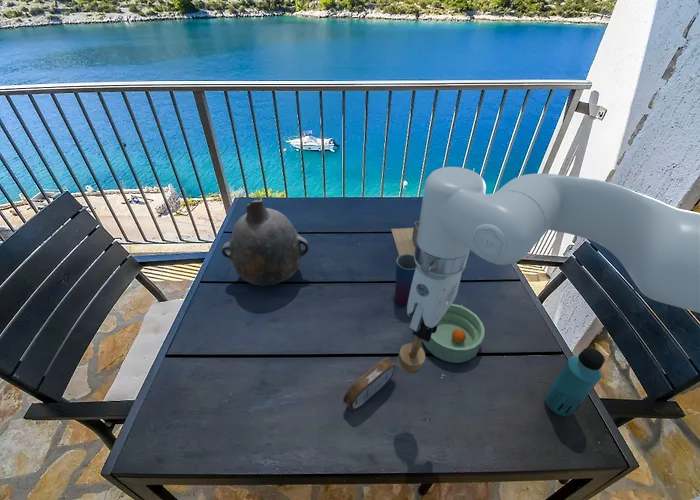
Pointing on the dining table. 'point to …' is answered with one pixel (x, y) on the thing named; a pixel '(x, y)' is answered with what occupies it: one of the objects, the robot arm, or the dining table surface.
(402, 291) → the cup
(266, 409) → the dining table surface
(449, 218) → the robot arm
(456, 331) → the ball
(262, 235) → the jug
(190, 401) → the dining table surface
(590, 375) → the beverage bottle
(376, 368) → the tin
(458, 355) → the bowl
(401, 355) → the wooden pestle
